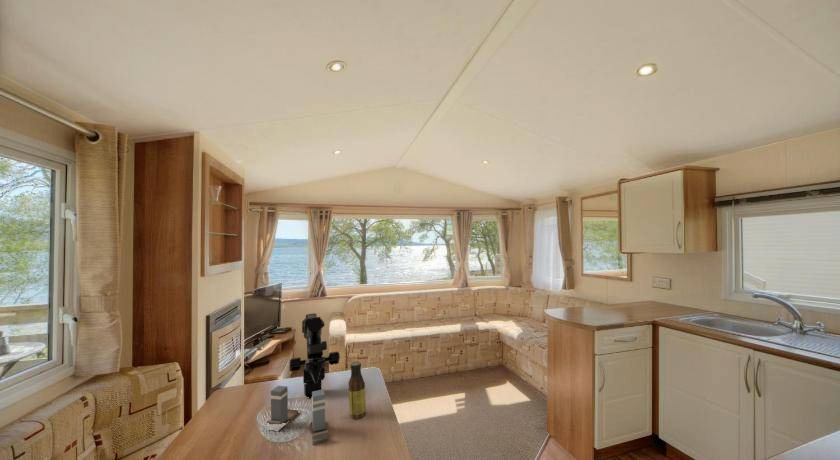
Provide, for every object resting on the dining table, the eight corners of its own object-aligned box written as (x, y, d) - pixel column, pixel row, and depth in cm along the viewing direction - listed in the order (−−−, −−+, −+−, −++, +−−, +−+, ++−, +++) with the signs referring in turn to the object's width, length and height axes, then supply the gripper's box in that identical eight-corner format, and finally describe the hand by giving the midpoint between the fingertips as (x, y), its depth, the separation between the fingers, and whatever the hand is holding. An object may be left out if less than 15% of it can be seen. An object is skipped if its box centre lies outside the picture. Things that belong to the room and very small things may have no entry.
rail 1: (287, 411, 121) (287, 404, 121) (298, 412, 120) (298, 405, 120) (266, 430, 109) (266, 421, 109) (279, 431, 108) (278, 423, 108)
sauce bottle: (369, 412, 119) (368, 361, 119) (359, 421, 113) (358, 367, 114) (355, 409, 122) (354, 359, 122) (345, 417, 116) (344, 365, 117)
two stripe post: (312, 425, 109) (311, 391, 110) (324, 422, 111) (324, 389, 112) (312, 432, 106) (312, 397, 106) (325, 428, 107) (325, 394, 108)
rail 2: (310, 425, 111) (310, 417, 112) (324, 421, 113) (324, 413, 114) (312, 445, 100) (312, 435, 101) (328, 440, 102) (328, 431, 103)
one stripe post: (278, 417, 115) (278, 385, 115) (288, 418, 114) (288, 386, 114) (270, 424, 110) (270, 391, 111) (280, 425, 110) (280, 392, 110)
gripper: (289, 338, 118) (289, 378, 107) (338, 331, 125) (343, 369, 114) (290, 351, 125) (289, 391, 114) (336, 345, 132) (340, 381, 121)
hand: (316, 382), depth 116 cm, fingers closed
